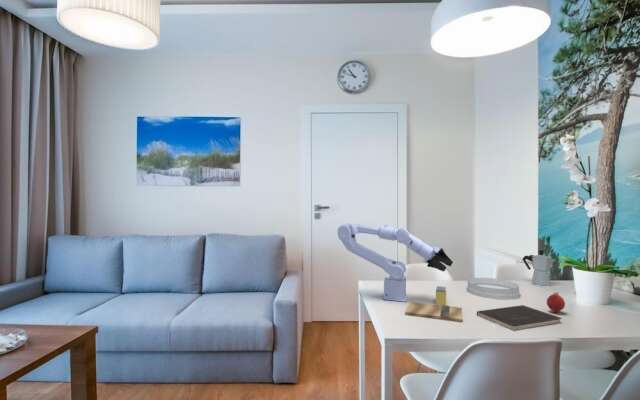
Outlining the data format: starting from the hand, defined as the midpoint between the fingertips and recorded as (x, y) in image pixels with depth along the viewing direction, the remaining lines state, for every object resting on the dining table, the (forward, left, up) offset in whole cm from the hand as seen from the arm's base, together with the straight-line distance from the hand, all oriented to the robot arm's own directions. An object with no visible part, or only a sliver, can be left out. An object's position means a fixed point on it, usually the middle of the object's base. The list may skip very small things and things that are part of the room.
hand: (448, 267), depth 142 cm
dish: (+19, +27, -16) cm, 37 cm away
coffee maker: (+43, +55, -16) cm, 72 cm away
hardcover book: (+24, -9, -16) cm, 31 cm away
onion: (+39, +5, -16) cm, 43 cm away
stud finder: (-3, +1, -16) cm, 16 cm away
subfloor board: (-5, -14, -15) cm, 21 cm away
